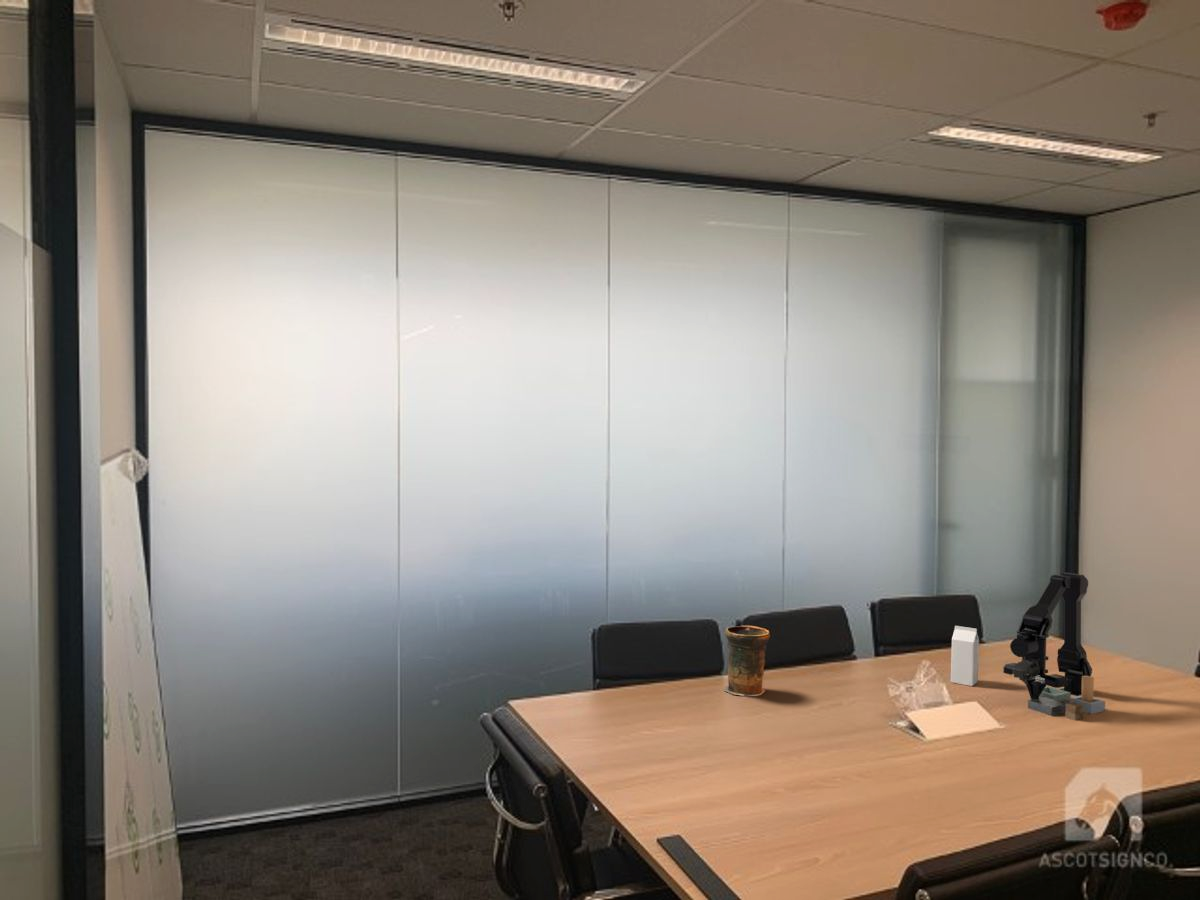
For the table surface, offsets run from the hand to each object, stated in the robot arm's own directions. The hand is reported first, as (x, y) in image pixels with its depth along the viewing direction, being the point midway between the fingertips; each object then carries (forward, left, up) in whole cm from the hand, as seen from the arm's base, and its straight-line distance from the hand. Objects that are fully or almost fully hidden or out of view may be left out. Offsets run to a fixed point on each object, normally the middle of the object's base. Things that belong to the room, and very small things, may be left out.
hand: (1034, 702), depth 272 cm
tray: (-12, -2, -1) cm, 12 cm away
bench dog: (0, +13, -1) cm, 13 cm away
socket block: (-12, +10, -1) cm, 15 cm away
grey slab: (+1, +5, -2) cm, 5 cm away
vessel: (+73, -51, -1) cm, 89 cm away
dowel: (-12, +10, -1) cm, 15 cm away
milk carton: (-2, -27, -1) cm, 27 cm away
